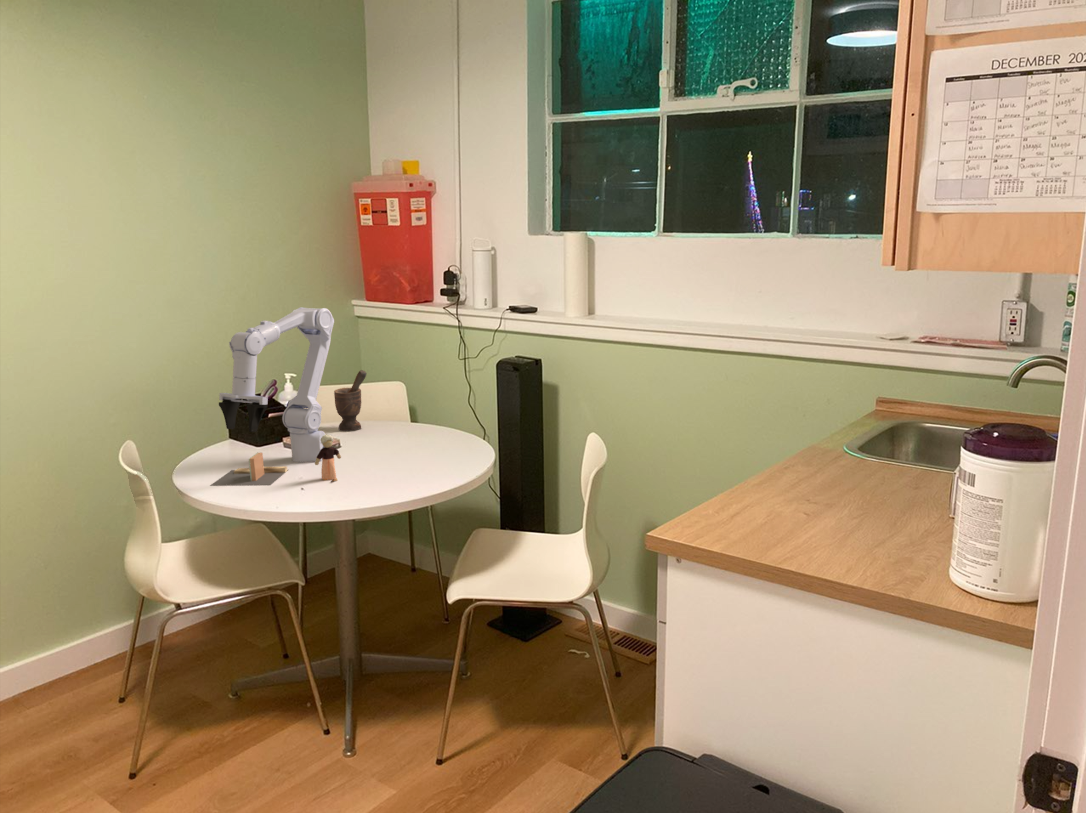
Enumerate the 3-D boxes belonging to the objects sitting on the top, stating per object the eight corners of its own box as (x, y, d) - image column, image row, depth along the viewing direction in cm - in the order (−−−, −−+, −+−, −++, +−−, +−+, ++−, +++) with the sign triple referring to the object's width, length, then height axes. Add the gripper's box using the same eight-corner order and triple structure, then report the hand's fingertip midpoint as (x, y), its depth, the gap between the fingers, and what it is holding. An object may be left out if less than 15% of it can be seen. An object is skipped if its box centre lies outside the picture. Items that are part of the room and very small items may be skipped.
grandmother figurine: (325, 485, 225) (321, 438, 222) (314, 483, 227) (310, 436, 224) (346, 478, 231) (342, 431, 229) (335, 476, 234) (332, 430, 231)
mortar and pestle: (375, 425, 289) (371, 366, 285) (368, 432, 281) (364, 371, 276) (341, 426, 290) (337, 367, 286) (333, 432, 282) (328, 371, 277)
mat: (289, 472, 238) (288, 469, 238) (270, 488, 224) (270, 485, 224) (232, 472, 239) (231, 470, 239) (210, 488, 225) (209, 485, 225)
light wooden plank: (288, 469, 238) (288, 465, 237) (284, 473, 235) (284, 468, 234) (238, 470, 238) (237, 466, 238) (234, 473, 235) (233, 469, 235)
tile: (264, 474, 234) (262, 452, 233) (256, 480, 228) (253, 458, 227) (259, 474, 234) (257, 452, 233) (250, 480, 228) (248, 458, 227)
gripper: (211, 376, 226) (209, 428, 226) (255, 380, 220) (252, 433, 221) (231, 376, 232) (228, 427, 233) (274, 380, 226) (271, 432, 227)
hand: (241, 430), depth 227 cm, fingers open, 7 cm apart
